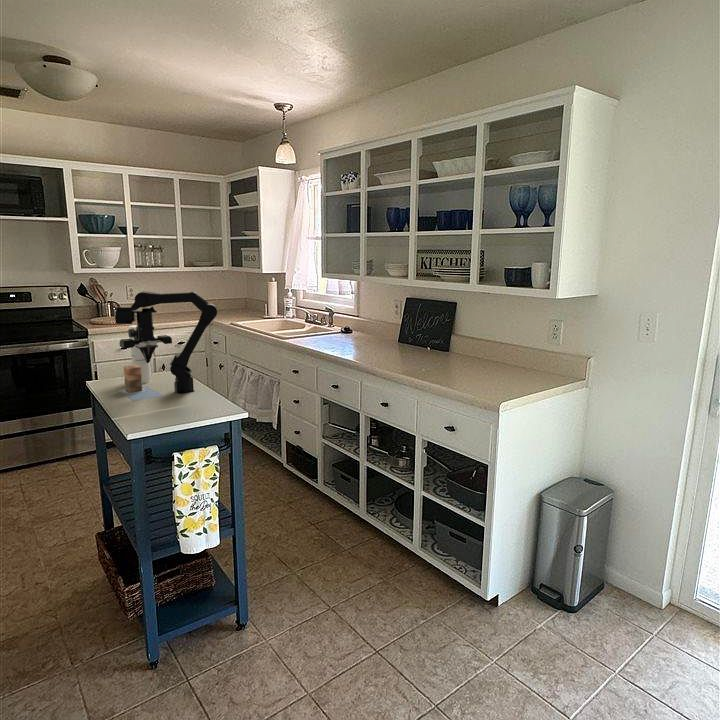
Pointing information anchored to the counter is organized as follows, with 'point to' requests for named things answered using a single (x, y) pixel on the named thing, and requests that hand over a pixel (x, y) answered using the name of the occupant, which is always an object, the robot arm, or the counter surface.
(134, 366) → the terracotta block
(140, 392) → the board
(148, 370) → the cylindrical container
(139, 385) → the walnut block
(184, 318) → the counter surface
